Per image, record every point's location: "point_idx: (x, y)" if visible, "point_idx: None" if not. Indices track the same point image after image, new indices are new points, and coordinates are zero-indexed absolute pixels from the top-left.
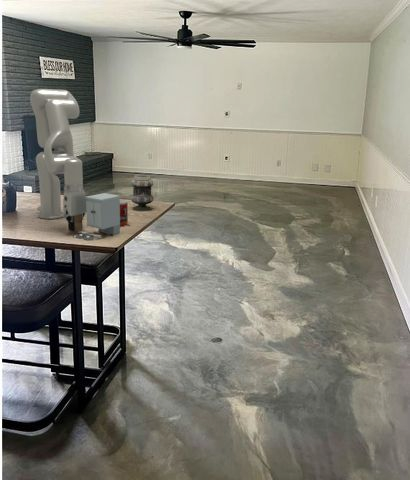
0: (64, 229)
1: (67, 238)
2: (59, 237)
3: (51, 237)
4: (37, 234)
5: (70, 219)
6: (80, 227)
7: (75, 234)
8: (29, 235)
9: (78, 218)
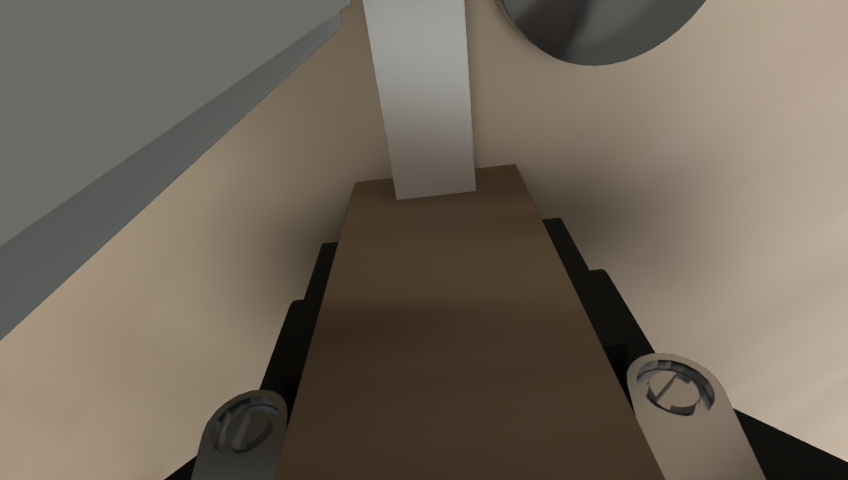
0: None
1: (793, 69)
2: (789, 208)
3: (835, 277)
4: None
5: (729, 451)
6: (392, 234)
7: (515, 172)
8: (843, 453)
9: (457, 413)
